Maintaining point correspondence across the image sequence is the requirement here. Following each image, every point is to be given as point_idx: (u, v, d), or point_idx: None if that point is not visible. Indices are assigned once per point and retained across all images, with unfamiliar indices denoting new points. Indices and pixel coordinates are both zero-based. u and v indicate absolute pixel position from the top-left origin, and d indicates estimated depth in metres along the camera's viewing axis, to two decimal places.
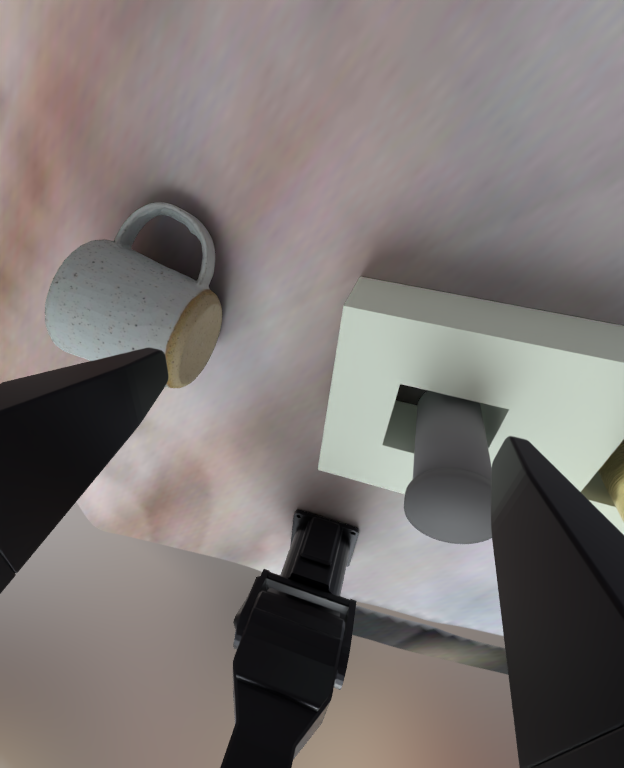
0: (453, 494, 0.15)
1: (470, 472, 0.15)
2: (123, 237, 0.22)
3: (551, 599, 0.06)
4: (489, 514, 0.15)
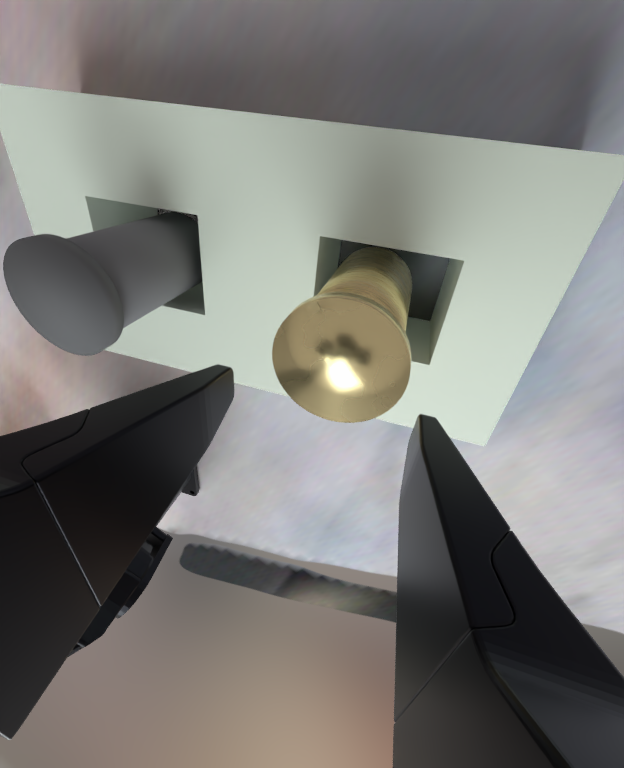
0: (39, 268, 0.12)
1: (51, 235, 0.12)
2: None
3: (421, 558, 0.06)
4: (85, 294, 0.12)
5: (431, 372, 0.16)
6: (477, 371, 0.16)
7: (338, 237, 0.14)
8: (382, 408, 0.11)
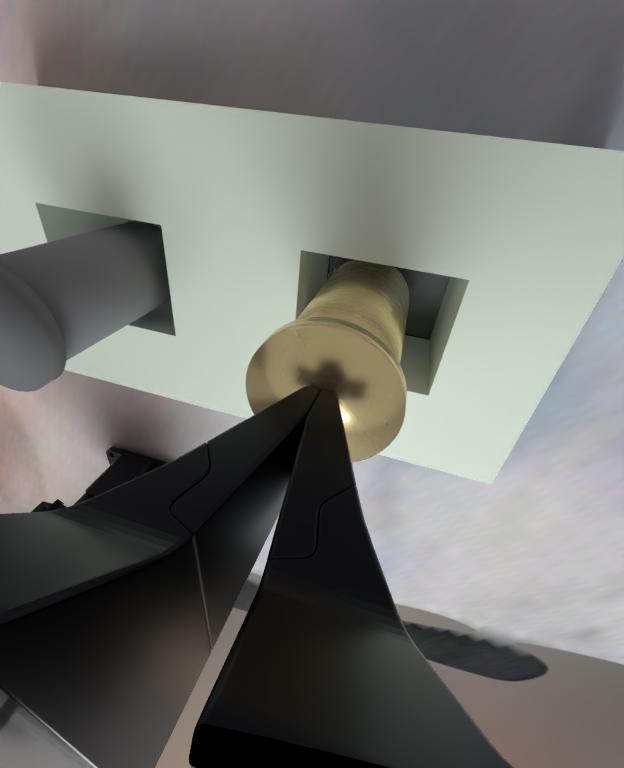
0: None
1: None
2: None
3: None
4: (14, 323, 0.10)
5: (431, 404, 0.14)
6: (483, 403, 0.14)
7: (322, 251, 0.12)
8: (373, 449, 0.10)
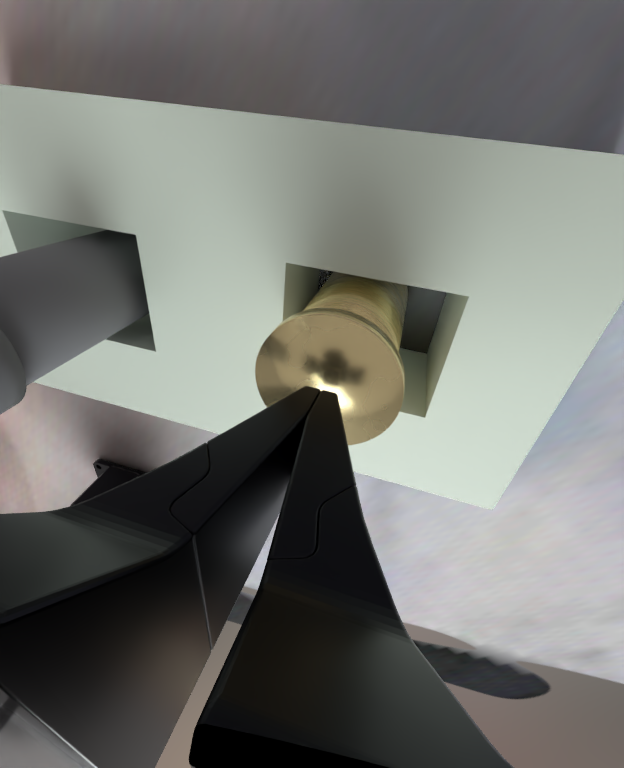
0: None
1: None
2: None
3: None
4: None
5: (428, 426, 0.13)
6: (483, 426, 0.13)
7: (308, 264, 0.11)
8: (374, 432, 0.10)
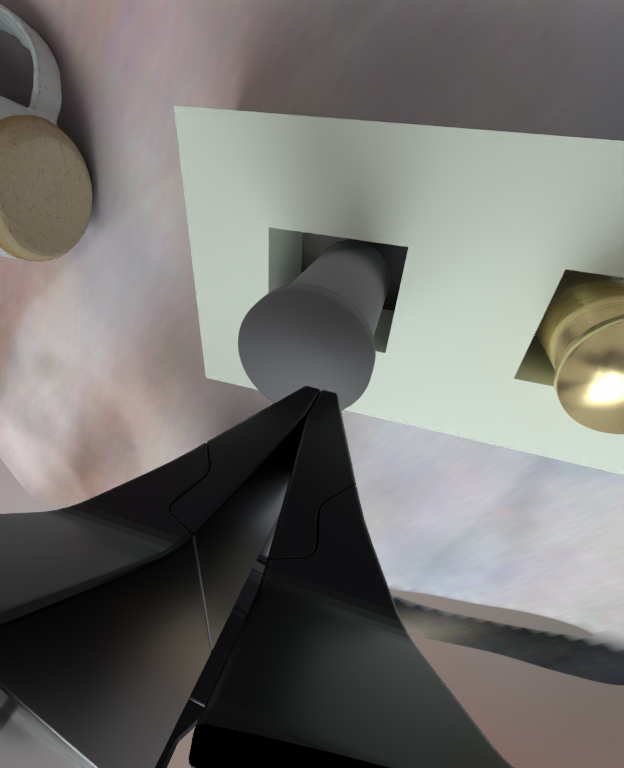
0: (293, 323, 0.10)
1: (313, 285, 0.10)
2: None
3: None
4: (347, 352, 0.10)
5: None
6: None
7: (590, 270, 0.12)
8: None
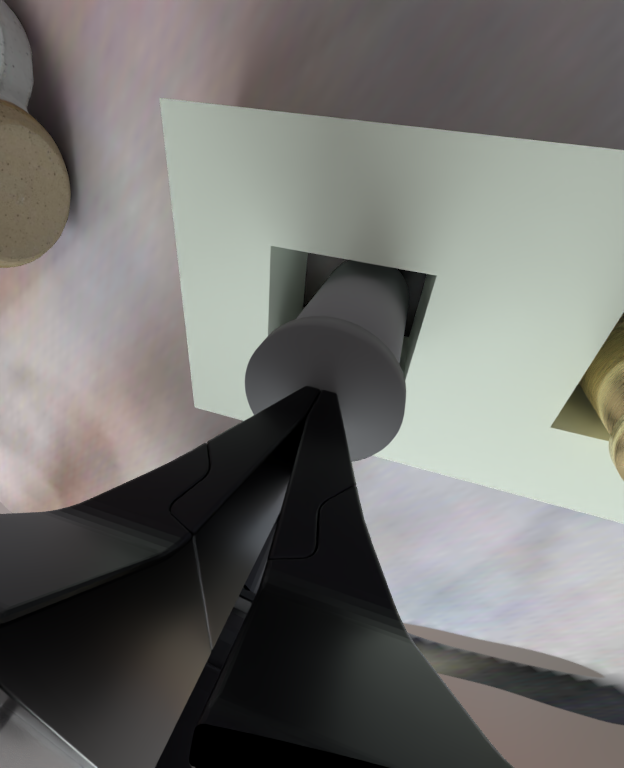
0: (311, 362, 0.09)
1: (337, 319, 0.08)
2: None
3: None
4: (374, 397, 0.09)
5: None
6: None
7: None
8: None
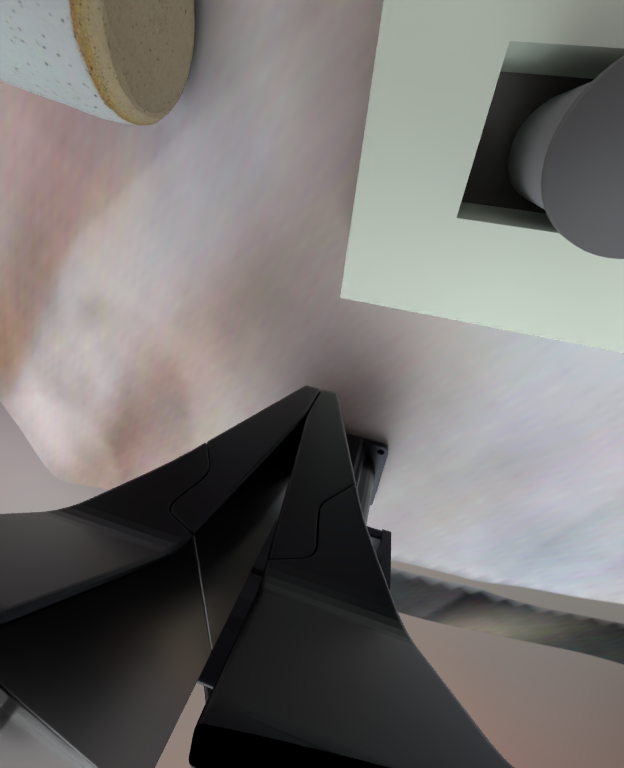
0: None
1: None
2: None
3: None
4: None
5: None
6: None
7: None
8: None
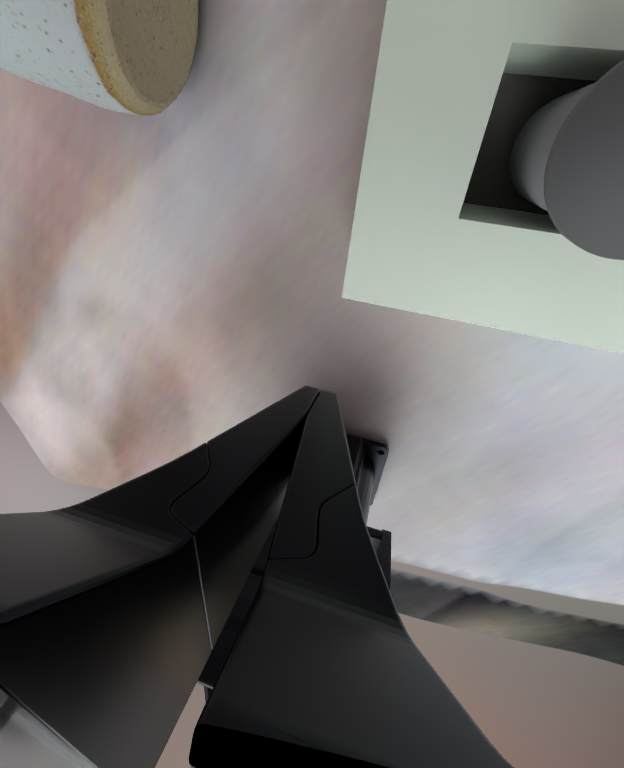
0: None
1: None
2: None
3: None
4: None
5: None
6: None
7: None
8: None
